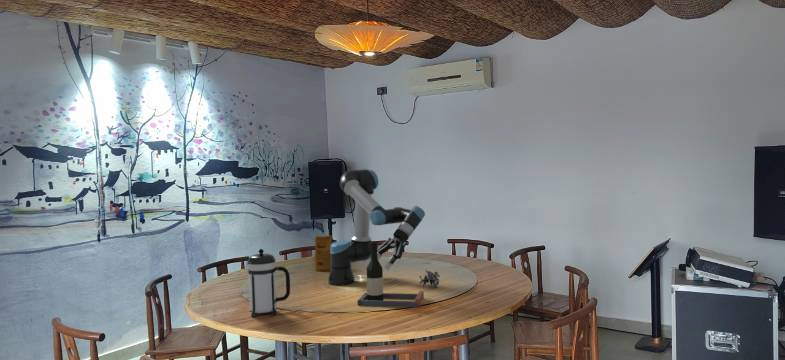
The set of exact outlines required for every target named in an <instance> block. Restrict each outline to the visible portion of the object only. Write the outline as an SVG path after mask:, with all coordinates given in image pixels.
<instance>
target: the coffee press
mask: <svg viewBox="0 0 785 360" xmlns="http://www.w3.org/2000/svg"><path fill="white" fill-rule="evenodd" d="M264 252H265V251H264V249H263V248H260V249H259V250H258V253H256V254H253V255H251V256H249V257H248V259H247V260H246V263H245V265H244V267H243V268H247V274H248V292H249V293H248V294H249V297H248V298H249V311H250V312H251V314H250V316H251V317H252V318H256V316H257V314H265V313H267V314H268V313H270V314H272V316H275V315H277V313H278V312H277V310H276V308H277V302H283V301H285V300H287V299H288V298H289V296H290V294H291V282H290V281H291V277H290V272H289V270H288V269H287V268H286V267H285V266H276V262H277V261H276V258H275V255H273V254H270V253H264ZM277 271H281V272H283V273H284V275H285V288H286V289H285V294H284V295H283V296H279V297H277V290H276V289H277V288H276V286H277V284H276V272H277Z"/></svg>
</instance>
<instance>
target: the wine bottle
mask: <svg viewBox="0 0 785 360" xmlns="http://www.w3.org/2000/svg"><path fill="white" fill-rule="evenodd" d="M377 249H378V242H377V241H376V240H371V258H370V260H369V263H368V264H367V266H366V293H367V300H381V301H384V299H383V293H384V284H383V283H384V280H383V279H384V275H383V266H382V265H381V263H380V262H379V260H377Z"/></svg>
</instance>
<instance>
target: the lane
mask: <svg viewBox="0 0 785 360" xmlns="http://www.w3.org/2000/svg"><path fill="white" fill-rule="evenodd" d="M424 292H425V291H424V290H419V292H418V293H403V292H402V293H401V292H400V293H399V292H398V293H394V292H392V293H390V292H383V301H381V300H367V292H364V293H363V294H362V295H361V296H360V297H359V298H358V299H357V306H358V307H385V308H386V307H387V308H388V307H391V308H394V307H395V308H399V307H400V308H420V307H421V305H422V304H421V303H423V302H424V300H423V299H425V298H424V297H425V295H424V294H425V293H424ZM384 299H385V300H384ZM387 299H389V300H387ZM410 300H411V301H410ZM413 300H414V301H413ZM422 301H423V302H422Z"/></svg>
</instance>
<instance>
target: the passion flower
mask: <svg viewBox="0 0 785 360" xmlns="http://www.w3.org/2000/svg"><path fill="white" fill-rule="evenodd" d="M425 272H426V274H425V275H424V279H423V278H422V276H421V275H420V276H419V279H420V280H421V281H419V285H420V284H422V287H424V286H425V285H426V283H427V284H430V286H432V285H433V286H434V288H435V289H439V285H440V284H439V283H440V279H439V278H440V277H441V276H440V274H439V273H438V272H437V271H434V272H433V271H431V270H427V269H425Z"/></svg>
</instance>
